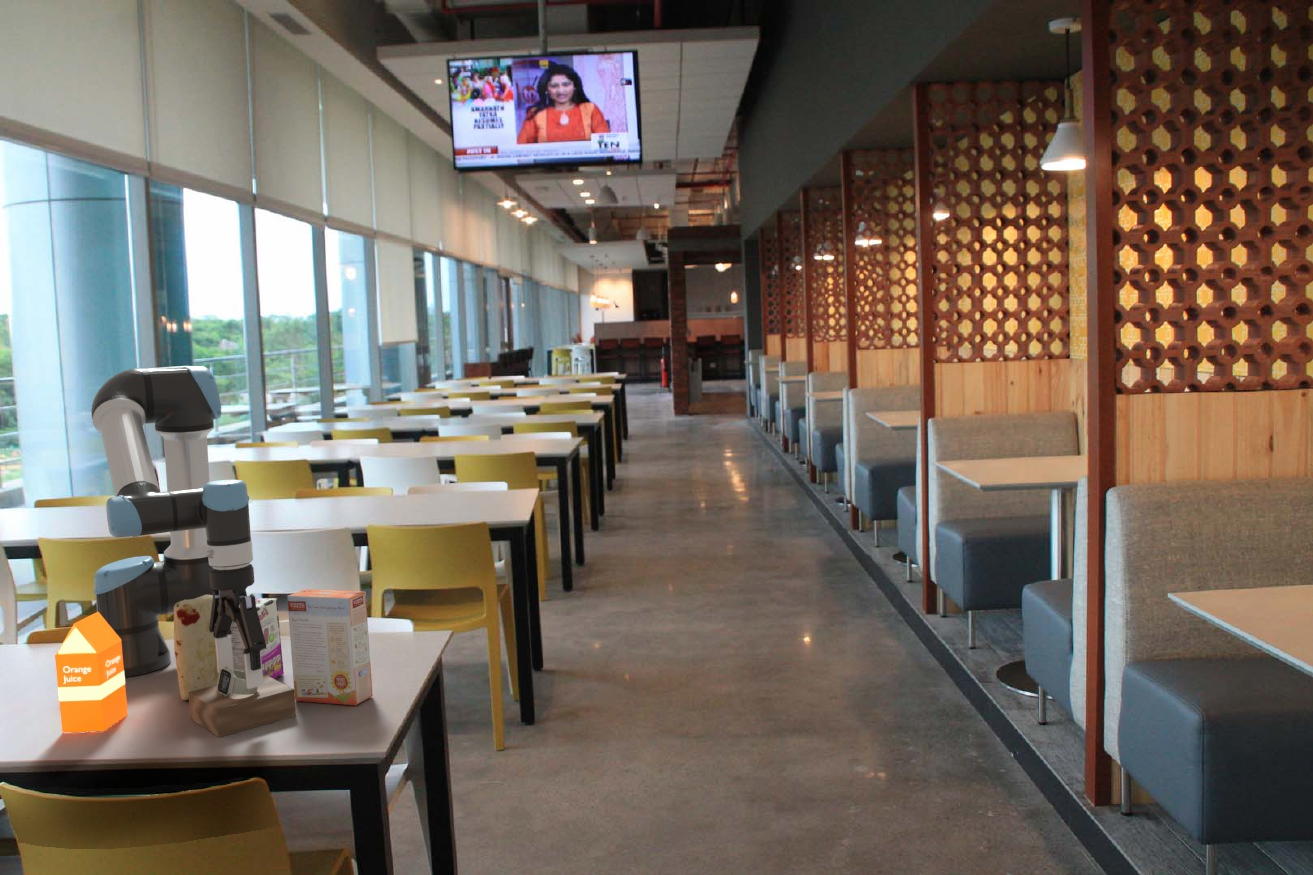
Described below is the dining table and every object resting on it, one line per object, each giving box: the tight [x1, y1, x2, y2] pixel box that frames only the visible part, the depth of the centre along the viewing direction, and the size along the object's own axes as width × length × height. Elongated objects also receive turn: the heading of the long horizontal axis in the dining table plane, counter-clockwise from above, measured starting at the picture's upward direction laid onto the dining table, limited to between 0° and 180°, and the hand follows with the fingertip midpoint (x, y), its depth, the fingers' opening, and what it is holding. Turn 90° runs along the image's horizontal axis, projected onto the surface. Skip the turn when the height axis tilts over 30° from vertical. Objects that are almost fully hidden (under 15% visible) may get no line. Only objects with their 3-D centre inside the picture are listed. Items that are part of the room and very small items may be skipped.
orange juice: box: [54, 611, 129, 733], centre depth 193 cm, size 8×9×20 cm
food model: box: [173, 595, 219, 701], centre depth 206 cm, size 10×7×20 cm
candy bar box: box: [227, 597, 285, 680], centre depth 212 cm, size 11×5×16 cm, turn 169°
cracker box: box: [286, 588, 373, 706], centre depth 201 cm, size 14×6×21 cm, turn 71°
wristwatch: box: [217, 667, 258, 696], centre depth 193 cm, size 9×6×5 cm
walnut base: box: [188, 674, 297, 738], centre depth 194 cm, size 14×14×5 cm
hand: (240, 678), depth 193 cm, fingers open, 13 cm apart
